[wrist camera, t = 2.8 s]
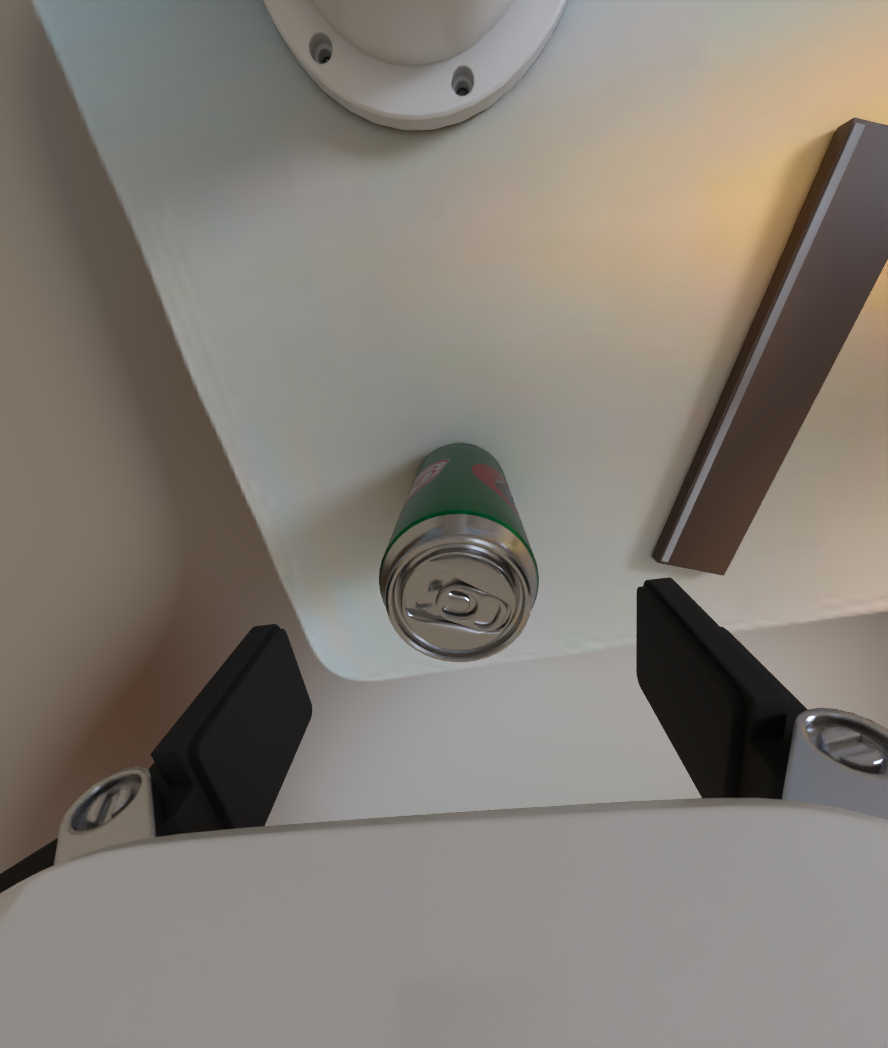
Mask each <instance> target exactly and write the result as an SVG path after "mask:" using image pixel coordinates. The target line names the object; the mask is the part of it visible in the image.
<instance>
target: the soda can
mask: <svg viewBox="0 0 888 1048" xmlns="http://www.w3.org/2000/svg"><path fill="white" fill-rule="evenodd" d="M379 585H380V593H381V596H382V599H383V602H384V604H385V606H386V610H387V613H388V616H389V619H390V621H391V623H392V625H393V627H394V629H395V630H396V632H397V633H398V634H399V636H400V637H401V638H402V639H403V640H404V641H405V642H406V643H407V644H409V645H410V646H411V647H413V648H414V649H415V650H417V651H419V652H421V653H423V654H424V655H427V656H430V657H432V658H435V659H439V660H443V661H451V662H469V661H476V660H480V659H483V658H487V657H489V656H492V655H494V654H496V653H498V652H500V651H501V650H503V649H505V648H506V647H507V646H509V645H510V644H511V643H512V642H513V641H514V640H515V639H516V638H517V637H518V636H519V635H520V633H521V632H522V630H523V629H524V627H525V626H526V623H527V621H528V618H529V616H530V611H531V610H532V608H533V605H534V603H535V600H536V597H537V592H538V586H539V575H538V568H537V564H536V561H535V558H534V555H533V552H532V550H531V547H530V544H529V541H528V539H527V536H526V533H525V530H524V528H523V525H522V522H521V520H520V517H519V514H518V511H517V509H516V506H515V503H514V500H513V498H512V495H511V492H510V489H509V487H508V484H507V481H506V479H505V476H504V473H503V470H502V468H501V467H500V465H499V463H498V462H497V461H496V459H495V458H494V457H493V456H492V455H491V454H490V453H488V452H487V451H485V450H484V449H482V448H480V447H477V446H475V445H471V444H465V443H455V444H449V445H445V446H443V447H440V448H438V449H436V450H435V451H433V452H432V453H431V454H429V455H428V456H427V457H426V458H425V459H424V460H423V462H422V463H421V465H420V466H419V468H418V470H417V473H416V475H415V478H414V480H413V483H412V485H411V488H410V490H409V493H408V496H407V498H406V501H405V503H404V506H403V508H402V511H401V513H400V516H399V518H398V521H397V523H396V526H395V528H394V531H393V533H392V536H391V539H390V541H389V544H388V546H387V549H386V551H385V554H384V556H383V559H382V562H381V567H380V573H379Z"/></svg>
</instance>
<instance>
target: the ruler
mask: <svg viewBox="0 0 888 1048" xmlns="http://www.w3.org/2000/svg"><path fill="white" fill-rule="evenodd" d="M887 259H888V126H887V125H883V124H879V123H875V122H870V121H866V120H862V119H858V118H853V119H851V120H849V121H848V122H846V123H844V124H843V125H841V126H840V127H838V128H837V130H836V132H835V135H834V137H833V139H832V142H831V144H830V146H829V148H828V151H827V153H826V155H825V158H824V160H823V162H822V165H821V167H820V169H819V172H818V174H817V176H816V179H815V181H814V183H813V185H812V188H811V190H810V192H809V195H808V197H807V199H806V202H805V204H804V206H803V209H802V211H801V213H800V216H799V218H798V220H797V222H796V225H795V227H794V229H793V232H792V234H791V236H790V239H789V241H788V243H787V246H786V248H785V250H784V253H783V255H782V257H781V259H780V262H779V264H778V266H777V269H776V271H775V273H774V276H773V278H772V280H771V283H770V285H769V287H768V290H767V292H766V294H765V296H764V299H763V301H762V303H761V306H760V308H759V310H758V313H757V315H756V317H755V320H754V322H753V324H752V327H751V329H750V331H749V333H748V336H747V338H746V340H745V343H744V345H743V347H742V350H741V352H740V354H739V357H738V359H737V361H736V364H735V366H734V368H733V370H732V373H731V375H730V377H729V380H728V382H727V384H726V387H725V389H724V391H723V394H722V396H721V398H720V401H719V403H718V405H717V407H716V410H715V412H714V414H713V417H712V419H711V421H710V424H709V426H708V428H707V431H706V433H705V435H704V438H703V440H702V442H701V444H700V447H699V449H698V451H697V454H696V456H695V458H694V461H693V463H692V465H691V468H690V470H689V472H688V475H687V477H686V479H685V481H684V484H683V486H682V488H681V491H680V493H679V495H678V498H677V500H676V502H675V505H674V507H673V509H672V512H671V514H670V516H669V518H668V521H667V523H666V525H665V528H664V530H663V532H662V535H661V537H660V539H659V542H658V544H657V546H656V549H655V551H654V553H653V555H652V557H653V558H654V559H655V560H656V561H657V562H658V563H662V564H667V565H672V566H677V567H683V568H688V569H693V570H698V571H703V572H708V573H714V574H719V575H724V574H725V572H726V570H727V568H728V566H729V565H730V563H731V561H732V559H733V557H734V555H735V553H736V551H737V549H738V547H739V545H740V543H741V541H742V539H743V537H744V536H745V534H746V532H747V530H748V528H749V526H750V524H751V522H752V520H753V518H754V516H755V514H756V512H757V510H758V509H759V507H760V505H761V503H762V501H763V499H764V497H765V495H766V493H767V491H768V489H769V487H770V485H771V483H772V481H773V480H774V478H775V476H776V474H777V472H778V470H779V468H780V466H781V464H782V462H783V460H784V458H785V456H786V454H787V453H788V451H789V449H790V447H791V445H792V443H793V441H794V439H795V437H796V435H797V433H798V431H799V429H800V427H801V425H802V424H803V422H804V420H805V418H806V416H807V414H808V412H809V410H810V408H811V406H812V404H813V402H814V400H815V398H816V397H817V395H818V393H819V391H820V389H821V387H822V385H823V383H824V381H825V379H826V377H827V375H828V373H829V371H830V369H831V368H832V366H833V364H834V362H835V360H836V358H837V356H838V354H839V352H840V350H841V348H842V346H843V344H844V342H845V341H846V339H847V337H848V335H849V333H850V331H851V329H852V327H853V325H854V323H855V321H856V319H857V317H858V315H859V313H860V312H861V310H862V308H863V306H864V304H865V302H866V300H867V298H868V296H869V294H870V292H871V290H872V288H873V286H874V285H875V283H876V281H877V279H878V277H879V275H880V273H881V271H882V269H883V267H884V265H885V263H886V261H887Z"/></svg>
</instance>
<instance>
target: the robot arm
mask: <svg viewBox="0 0 888 1048" xmlns="http://www.w3.org/2000/svg"><path fill="white" fill-rule="evenodd" d="M567 1H568V0H263V2H264V4H265V6H266V8H267V10H268V11H269V13H270V15H271V17H272V19H273V21H274V23H275V25H276V27H277V29H278V31H279V32H280V34H281V36H282V37H283V39H284V40H285V42H286V43H287V45H288V47H289V48H290V50H291V51H292V53H293V55H294V56H295V58H296V59H297V61H298V63H299V64H300V65H301V66H302V67H303V69H304V70H305V71H306V72H307V73H308V74H309V75H310V76H311V78H312V79H313V80H314V81H315V82H316V83H317V84H318V86H319V87H320V88H321V89H322V90H323V91H324V92H326V93H327V94H328V95H329V96H331V97H332V98H333V99H334V100H336V101H337V102H338V103H340V104H341V105H342V106H343V107H345V108H346V109H347V110H349V111H351V112H353V113H355V114H357V115H359V116H361V117H363V118H365V119H367V120H369V121H371V122H373V123H375V124H379V125H383V126H387V127H392V128H396V129H401V130H434V129H438V128H441V127H445V126H449V125H452V124H456V123H460V122H463V121H464V120H466V119H468V118H470V117H472V116H474V115H476V114H477V113H479V112H481V111H483V110H485V109H487V108H489V107H490V106H491V105H492V104H493V103H495V102H496V101H497V100H498V99H499V98H501V97H502V96H503V95H504V94H505V93H507V92H508V91H509V90H510V89H511V88H513V87H514V86H515V85H516V84H517V82H518V81H519V80H520V79H521V77H522V76H523V75H524V74H525V73H526V71H527V70H528V69H529V68H530V67H531V65H532V64H533V63H534V62H535V61H536V59H537V58H538V57H539V55H540V53H541V52H542V50H543V48H544V47H545V45H546V43H547V41H548V40H549V38H550V36H551V35H552V33H553V31H554V29H555V28H556V26H557V24H558V23H559V20H560V18H561V15H562V13H563V11H564V8H565V6H566V3H567ZM325 57H331V58H330V59H329V60H328V61H327V62H326V63H323V64H322V62H323V59H324V58H325ZM460 88H465V89H467V91H468V94H467V95H466V96H459V95H457V94H456V93H457V91H458V90H459V89H460ZM637 678H638V682H639V685H640V687H641V689H642V691H643V693H644V694H645V696H646V698H647V700H648V701H649V703H650V705H651V707H652V709H653V711H654V712H655V714H656V716H657V718H658V720H659V721H660V723H661V725H662V727H663V729H664V730H665V732H666V734H667V736H668V738H669V739H670V741H671V743H672V745H673V747H674V748H675V750H676V752H677V753H678V755H679V757H680V759H681V761H682V763H683V764H684V766H685V768H686V770H687V772H688V773H689V775H690V777H691V779H692V781H693V782H694V784H695V786H696V788H697V789H698V791H699V793H700V795H701V796H702V798H697V799H676V800H652V801H631V802H613V803H597V804H582V805H565V806H549V807H533V808H517V809H501V810H486V811H471V812H456V813H443V814H442V813H441V814H427V815H412V816H398V817H384V818H369V819H355V820H342V821H329V822H315V823H303V824H289V825H275V826H265V823H266V821H267V819H268V817H269V814H270V812H271V810H272V807H273V805H274V803H275V800H276V798H277V796H278V793H279V791H280V789H281V786H282V784H283V782H284V779H285V777H286V775H287V772H288V770H289V768H290V765H291V763H292V761H293V759H294V756H295V754H296V752H297V749H298V747H299V745H300V742H301V740H302V737H303V735H304V733H305V731H306V728H307V726H308V723H309V722H310V719H311V715H312V704H311V701H310V698H309V696H308V693H307V690H306V687H305V684H304V681H303V679H302V676H301V673H300V670H299V667H298V664H297V661H296V659H295V656H294V653H293V650H292V647H291V644H290V642H289V639H288V636H287V633H286V631H285V630H284V629H280V627H279V626H278V625H276V624H271V625H263V626H255V627H253V628H252V629H251V630H250V631H249V633H248V634H247V635H246V637H245V638H244V639H243V640H242V641H241V643H240V644H239V645H238V646H237V648H236V649H235V650H234V651H233V652H232V654H231V655H230V656H229V657H228V659H227V660H226V661H225V663H224V664H223V665H222V666H221V667H220V669H219V670H218V671H217V672H216V673H215V675H214V676H213V677H212V678H211V680H210V681H209V682H208V683H207V685H206V686H205V687H204V688H203V690H202V691H201V692H200V693H199V695H198V696H197V697H196V698H195V700H194V701H193V702H192V703H191V705H190V706H189V707H188V708H187V710H186V711H185V712H184V713H183V715H182V716H181V717H180V718H179V719H178V721H177V722H176V723H175V724H174V726H173V727H172V728H171V730H170V731H169V732H168V733H167V734H166V736H165V737H164V738H163V739H162V740H161V742H160V743H159V744H158V746H157V747H156V748H155V749H154V751H153V752H152V753H151V756H152V758H153V760H154V761H155V762H154V763H153V765H152V766H151V767H150V769H149V770H147V769H145V768H143V767H130V768H127V769H123V770H120V771H118V772H116V773H114V774H111V775H109V776H107V777H106V778H104V779H103V780H101V781H99V782H98V783H96V784H95V785H94V786H92V787H91V788H90V789H89V790H88V791H86V792H85V793H84V794H82V796H81V797H80V798H79V799H78V800H77V801H76V802H75V803H74V804H73V805H72V806H71V807H70V809H69V810H68V812H67V813H66V815H65V816H64V818H63V821H62V823H61V826H60V830H59V836H58V838H57V839H55V840H54V841H52V842H51V843H49V844H47V845H46V846H44V847H43V848H41V849H39V850H38V851H36V852H35V853H33V854H31V855H30V856H28V857H27V858H25V859H23V860H22V861H20V862H19V863H17V864H15V865H14V866H12V867H11V868H9V869H7V870H6V871H4V872H3V873H1V874H0V1048H888V729H887V728H885V727H883V726H881V725H879V724H877V723H875V722H874V721H872V720H870V719H867V718H864V717H862V716H859V715H857V714H854V713H851V712H846V711H842V710H838V709H828V708H816V709H810V710H808V709H806V708H805V707H804V706H803V705H802V704H801V703H800V702H799V701H798V700H797V699H796V698H795V697H794V696H793V695H792V694H791V693H790V692H789V691H788V690H787V689H786V688H785V687H784V686H783V685H782V684H781V683H780V682H779V681H778V680H777V679H776V678H775V677H774V676H773V675H772V674H771V673H770V672H769V671H768V670H767V669H766V668H765V667H764V666H763V665H762V664H761V663H760V662H759V661H758V660H757V659H756V658H755V657H754V656H753V655H752V654H751V653H750V652H749V651H748V650H747V649H746V648H745V647H744V646H743V645H742V644H741V643H740V642H739V641H738V640H737V639H736V638H735V637H734V636H733V635H732V634H731V633H730V632H729V631H727V630H726V629H725V628H723V627H720V626H719V625H718V624H717V623H716V622H715V621H714V620H713V619H712V618H711V617H710V616H709V615H708V614H707V613H706V612H705V611H704V610H703V609H702V608H701V607H700V606H699V605H698V604H697V603H696V602H695V601H694V600H693V599H692V598H691V597H690V596H689V595H688V594H687V593H686V592H685V591H684V590H683V589H682V588H681V587H680V586H679V585H678V584H677V583H676V582H675V581H674V580H673V579H671V578H661V579H652V580H646V581H645V582H644V586H642V587H638V589H637Z"/></svg>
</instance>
